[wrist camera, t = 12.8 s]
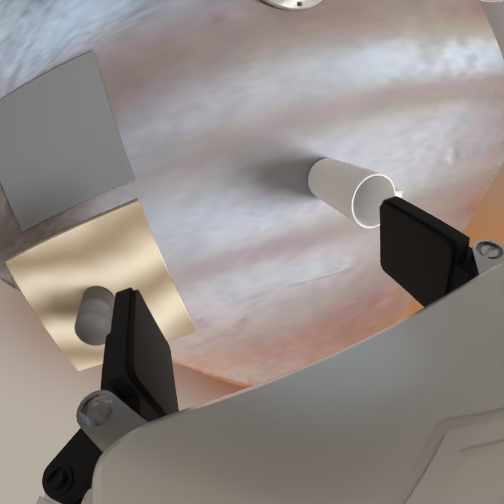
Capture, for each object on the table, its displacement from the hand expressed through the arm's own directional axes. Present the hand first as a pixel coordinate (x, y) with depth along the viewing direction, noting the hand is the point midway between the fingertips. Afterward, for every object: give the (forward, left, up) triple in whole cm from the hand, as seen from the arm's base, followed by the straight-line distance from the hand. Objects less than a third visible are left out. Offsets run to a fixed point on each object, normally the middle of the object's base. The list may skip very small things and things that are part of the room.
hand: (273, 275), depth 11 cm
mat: (-9, -16, -31) cm, 36 cm away
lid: (+8, -14, -20) cm, 26 cm away
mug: (+9, +20, -32) cm, 38 cm away
